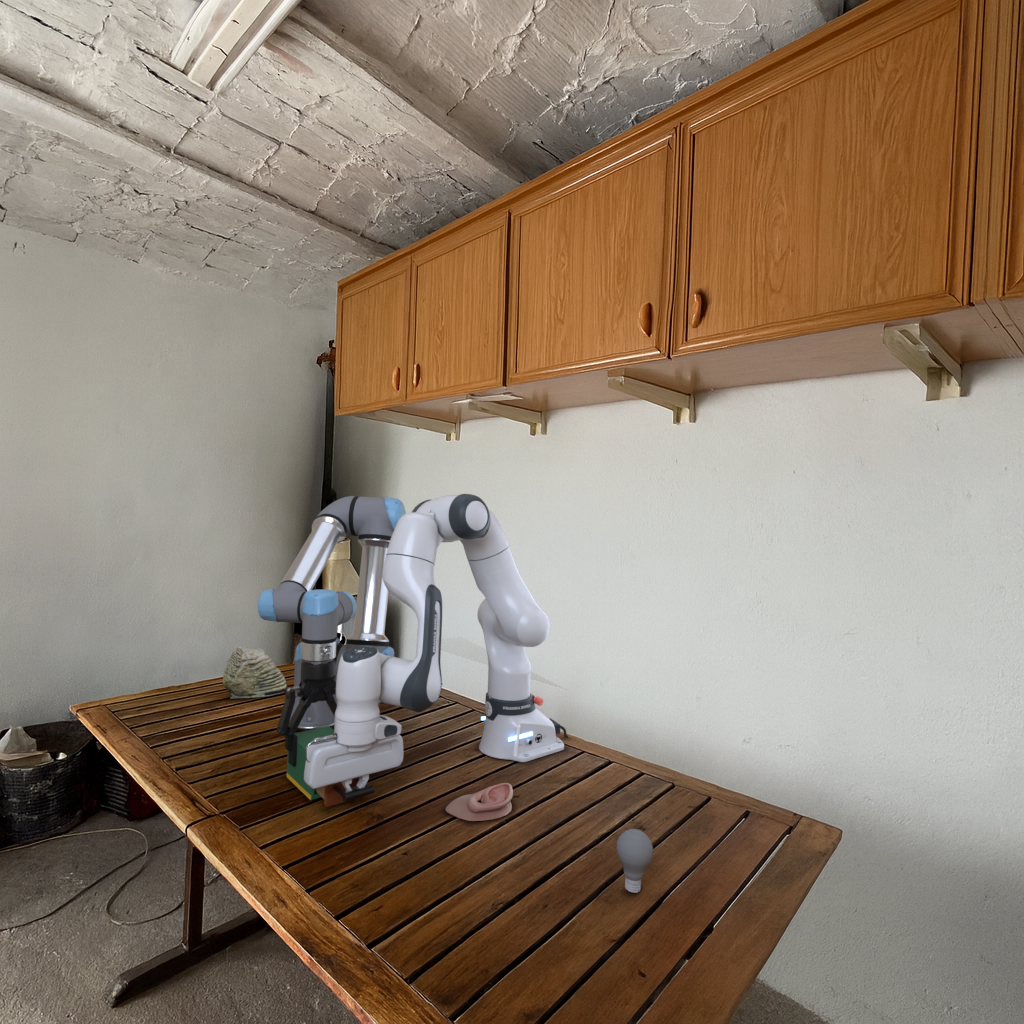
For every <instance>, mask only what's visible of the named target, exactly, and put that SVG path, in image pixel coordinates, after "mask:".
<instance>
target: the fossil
mask: <svg viewBox="0 0 1024 1024" xmlns="http://www.w3.org/2000/svg"><path fill="white" fill-rule="evenodd" d="M222 676H223V677H222V685H223V687H224V688H225V690H226V691H228V693H229V698H230V699H250V698H264V697H271V696H275V695H281V694H284V693H285V692H286V691H285V690H286V688H287V687H288V686H287V680H286V678H285V676H284V674H283V673H282V672H281V669H279V668H278V667H277V665H276V663H275V662H274V660H273V659H272V658H271V657H270V656H269V655H268V654H267V653H266V652H265V650H264V649H263V648H260V647H258V648H251V647H247V646H246V647H245V646H238V647H237V648H236V649H235V650H233V651H232V653H231V656H230V657H229V659H228V660H227V663H226V666H225V668H224V671H223V675H222Z"/></svg>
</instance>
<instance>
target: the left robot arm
mask: <svg viewBox="0 0 1024 1024" xmlns="http://www.w3.org/2000/svg"><path fill="white" fill-rule="evenodd" d="M405 514H407V511H406V507H405V505H404V502H403V501H402V500H401V499H399V498H397V497H395V498H394V497H387V496H357V495H349V496H344V497H341V498H339V499H337V500H334V501H333V502H331V503H330V504H328V505H327V506H326V507H325V508H323V509H322V510H321V511H320V512H319V513H318V514H317V515H316V517H315V519H314V520H313V522H312V524H311V532H310V533H309V535H308V537H307V539H306V540H305V542H304V544H303V545H302V547H301V549H300V550H299V552H298V554H297V555H296V557H295V559H294V560H293V562H292V563H291V565H290V567H289V568H288V570H287V572H286V573H285V575H284V577H283V578H282V580H281V582H280V583H279V585H278V586H277V588H276V589H275V588H272V589H265V590H263V591H262V592H261V594H260V595H259V598H258V601H257V611H258V615H259V618H260V619H262V620H264V621H269V622H275V623H297V624H298V623H299V624H301V626H302V627H301V642H300V643H298V644H297V645H296V647H295V654H294V659H293V661H294V670H293V671H294V672H293V687H291V686H287V687H286V690H285V691H284V692H285V699H284V702H283V706H282V710H281V713H280V716H279V719H278V723H277V727H276V732H277V733H278V734H279V735H280V736H284V748H285V750H286V751H289V757H288V762H289V763H290V764H291V765H292V766H296V762H297V735H295V734H294V733H297V732H303V731H308V730H312V729H317V728H322V727H327V726H329V727H331V728H332V729H333V730H334V721H335V711H336V708H337V698H336V678H337V670H338V665H339V661H340V658H341V655H342V654H343V653H344V652H345V651H346V650H348V649H350V648H352V647H357V646H372V647H375V648H376V649H377V650H378V651H379V653H381V654H383V655H387V656H393V657H395V650H394V648H393V647H391V646H390V640H389V639H388V637H387V636H386V635H385V630H386V621H387V611H388V600H389V593H390V592H389V591H388V589H387V588H386V586H385V584H384V582H383V566H384V562H385V557H386V553H387V549H388V546H389V543H390V540H391V537H392V534H393V532H394V529H395V527H396V525H397V522H398V520H399V519H400V518H401V517H402V516H403V515H405ZM346 537H358V538H357V543H358V544H359V545H360V546H361V548H362V549H361V550H362V551H361V560H360V568H359V578H358V586H357V595H356V598H355V597H354V596H353V595H352V594H351V593H350V592H349V591H345V590H344V591H343V590H342V591H338V590H337V591H335V590H333V589H326V588H325V589H323V588H322V589H313V588H314V587H315V585H316V583H317V581H318V579H319V578H320V576H321V574H322V572H323V570H324V569H325V567H326V565H327V563H328V561H329V559H330V557H331V556H332V554H333V552H334V550H335V548H336V546H337V545H339V544H340V543H342V542H343V540H344V539H345V538H346ZM353 617H354V622H353V629H352V633H351V634H350V635H348V636H347V637H346V641H345V644H341V641H340V639H339V638H338V626H341V625H343V624H345V623H347V622H348V621H350V619H352V618H353Z"/></svg>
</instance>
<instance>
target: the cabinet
mask: <svg viewBox="0 0 1024 1024" xmlns="http://www.w3.org/2000/svg"><path fill="white" fill-rule="evenodd" d="M294 734H295V735H297V762H296V766H292V765H291V764H290V763H289V762H288V757H289V751H287V750H286V751H287V752H286V753H287V755H286V774H285V775H286V778H287V780H289V781H290V782H291V783H292V784H293V785H294V786H295V787H296V788H297V789H298V790H299V791H300V792H302V794H303V795H304V796H306V798H307V799H309V801H313V800H316V799H319V798H322V797H321V796H320V795H319V794H318V793H317V792H316V791H315V789H313V788H311V787H310V786H308V785H307V784H306V782H305V781H304V770H305V763H306V747H307V745H308V744H309V743H310V742H311V741H313V739H314V738H317V737H324V736H327V735H331V734H334V730H333V729H332V728H331V727H329V726H327V727H322V728H317V729H312V730H308V731H303V732H301V731H297V732H295V733H294ZM312 744H314V743H312Z"/></svg>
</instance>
